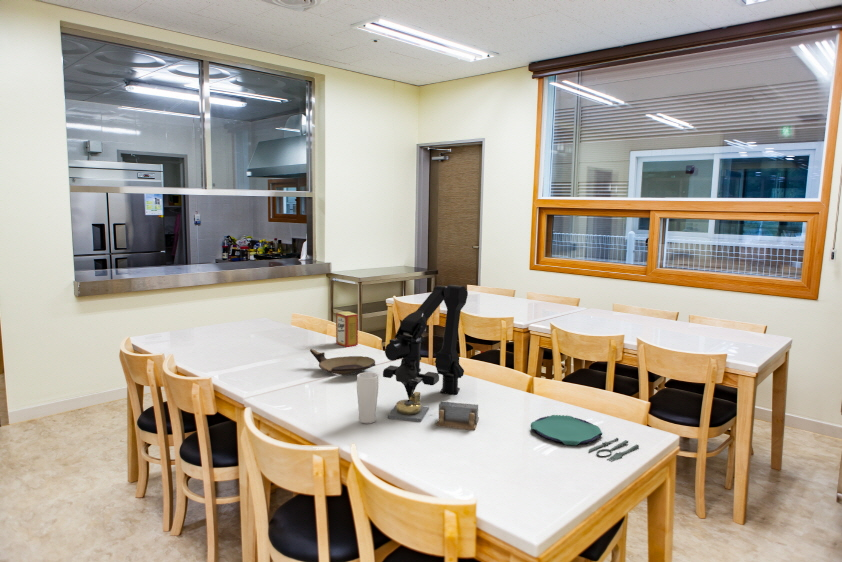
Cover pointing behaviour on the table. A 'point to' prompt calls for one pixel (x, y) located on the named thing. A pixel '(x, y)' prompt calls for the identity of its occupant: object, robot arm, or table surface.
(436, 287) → the robot arm
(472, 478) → the table surface
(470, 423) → the peg rack
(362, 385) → the drinking glass
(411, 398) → the gold low rounded piece
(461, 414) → the bar
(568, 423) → the cutlery set
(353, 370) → the frying pan
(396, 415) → the nut base
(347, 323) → the baking soda box
